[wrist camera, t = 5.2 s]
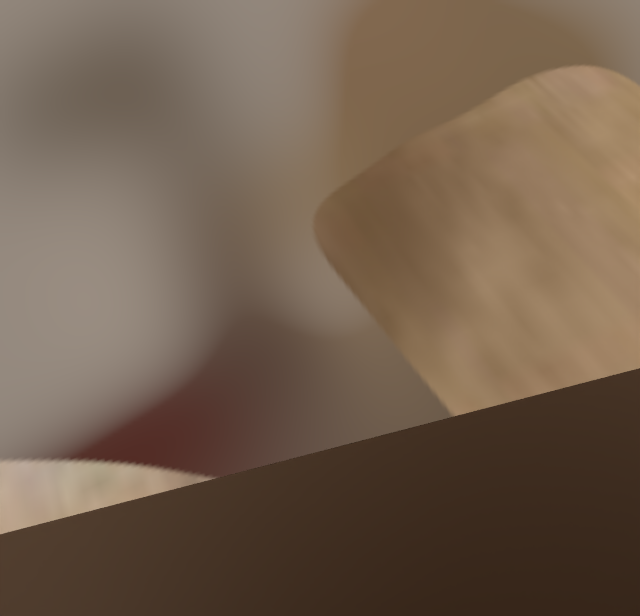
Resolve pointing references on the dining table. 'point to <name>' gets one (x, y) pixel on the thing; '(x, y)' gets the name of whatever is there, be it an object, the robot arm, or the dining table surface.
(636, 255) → the dining table surface
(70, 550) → the brown wooden block
